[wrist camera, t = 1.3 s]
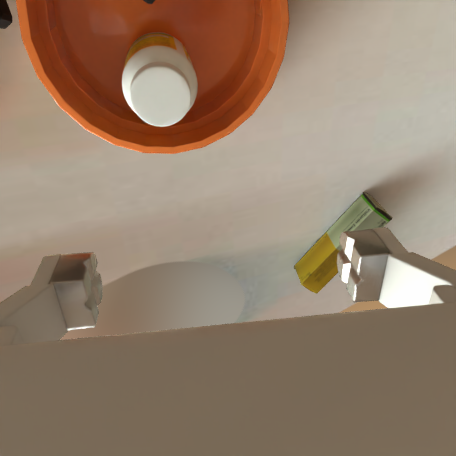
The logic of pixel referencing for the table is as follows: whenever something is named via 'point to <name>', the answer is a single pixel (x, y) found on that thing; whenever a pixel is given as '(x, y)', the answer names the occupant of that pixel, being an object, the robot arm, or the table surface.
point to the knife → (5, 15)
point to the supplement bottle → (159, 79)
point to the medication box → (329, 243)
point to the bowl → (120, 44)
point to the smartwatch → (149, 1)
